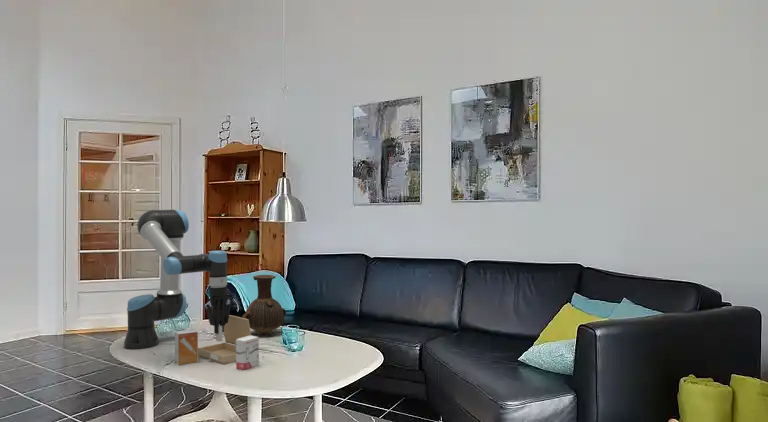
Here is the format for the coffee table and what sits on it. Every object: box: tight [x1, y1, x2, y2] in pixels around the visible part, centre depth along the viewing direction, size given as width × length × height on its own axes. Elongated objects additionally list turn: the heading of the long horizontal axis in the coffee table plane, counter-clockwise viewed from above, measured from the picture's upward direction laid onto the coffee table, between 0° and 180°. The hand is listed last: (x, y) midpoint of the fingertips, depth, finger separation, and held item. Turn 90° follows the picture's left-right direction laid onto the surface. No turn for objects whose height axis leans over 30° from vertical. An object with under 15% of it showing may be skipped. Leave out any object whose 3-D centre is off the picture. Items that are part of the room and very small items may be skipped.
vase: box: [241, 274, 287, 335], centre depth 283 cm, size 25×20×30 cm
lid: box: [223, 314, 252, 346], centre depth 244 cm, size 22×14×1 cm
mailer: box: [198, 342, 236, 365], centre depth 240 cm, size 21×14×3 cm, turn 47°
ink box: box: [235, 335, 260, 371], centre depth 224 cm, size 9×5×12 cm, turn 148°
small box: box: [174, 328, 199, 366], centre depth 232 cm, size 8×6×13 cm
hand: (219, 340), depth 238 cm, fingers closed
